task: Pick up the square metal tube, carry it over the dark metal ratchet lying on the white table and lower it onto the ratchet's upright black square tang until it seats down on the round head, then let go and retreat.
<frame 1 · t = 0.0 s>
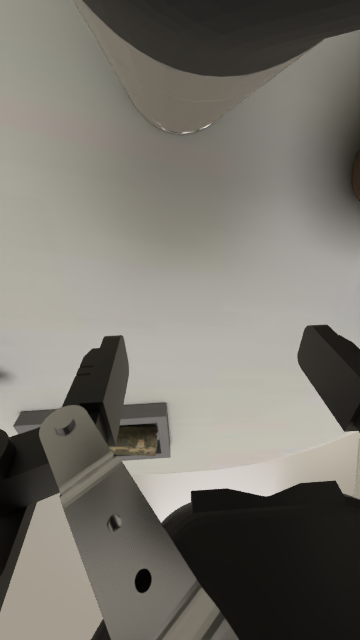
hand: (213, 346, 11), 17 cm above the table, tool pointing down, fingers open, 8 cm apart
gray rectangular tray: (102, 429, 42), on the table
rough wooden branch: (105, 427, 43), on the table
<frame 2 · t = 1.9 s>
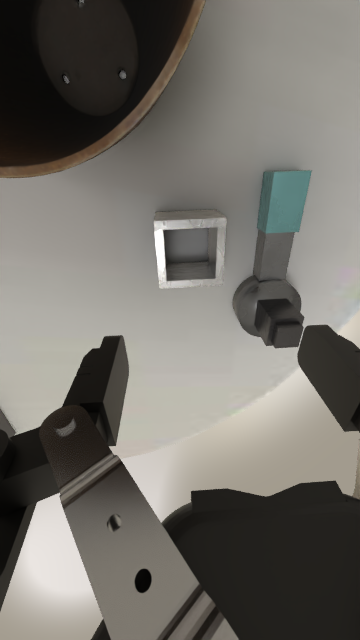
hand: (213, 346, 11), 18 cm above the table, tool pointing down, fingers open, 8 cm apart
ratchet: (267, 259, 27), on the table
plant pot: (89, 56, 18), on the table
square metal tube: (186, 241, 26), on the table
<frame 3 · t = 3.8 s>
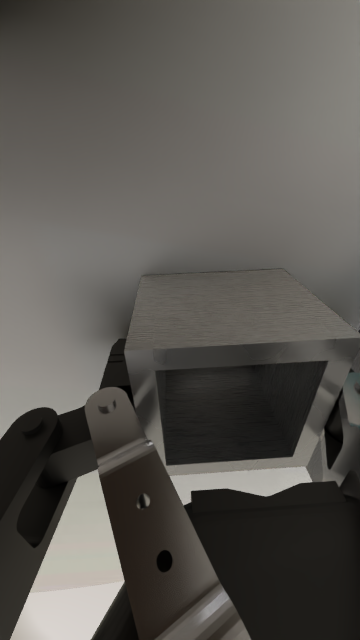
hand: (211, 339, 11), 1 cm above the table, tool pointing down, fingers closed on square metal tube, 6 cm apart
square metal tube: (210, 331, 12), on the table, touching gripper
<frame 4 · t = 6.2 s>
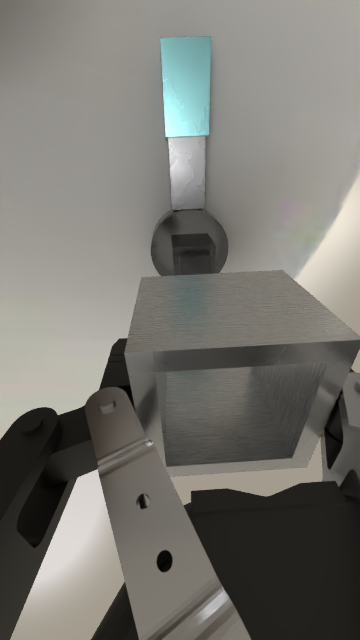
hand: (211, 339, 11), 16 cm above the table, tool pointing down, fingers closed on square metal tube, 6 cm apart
ratchet: (185, 187, 22), on the table
square metal tube: (210, 332, 12), point 15 cm above the table, touching gripper
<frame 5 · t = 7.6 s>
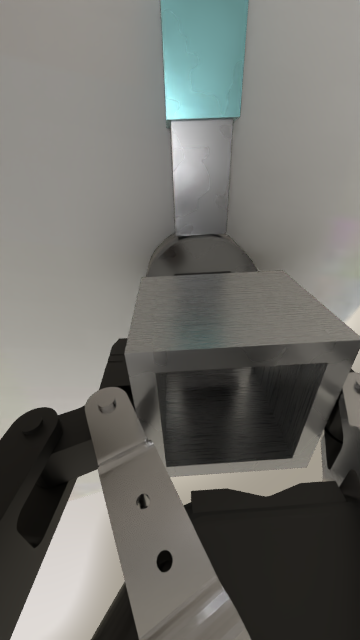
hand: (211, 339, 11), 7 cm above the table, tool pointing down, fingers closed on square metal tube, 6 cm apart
ratchet: (196, 200, 15), on the table
square metal tube: (210, 332, 12), point 6 cm above the table, touching gripper
when the fingers open (5 cm above the table, at t = 8.6 s): square metal tube drops 1 cm, resting on ratchet.
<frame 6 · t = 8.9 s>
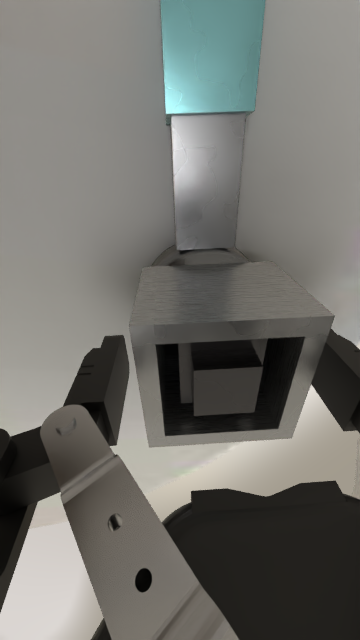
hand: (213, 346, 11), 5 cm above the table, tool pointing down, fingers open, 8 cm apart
ratchet: (200, 208, 13), on the table, touching square metal tube
square metal tube: (206, 319, 13), point 3 cm above the table, touching ratchet
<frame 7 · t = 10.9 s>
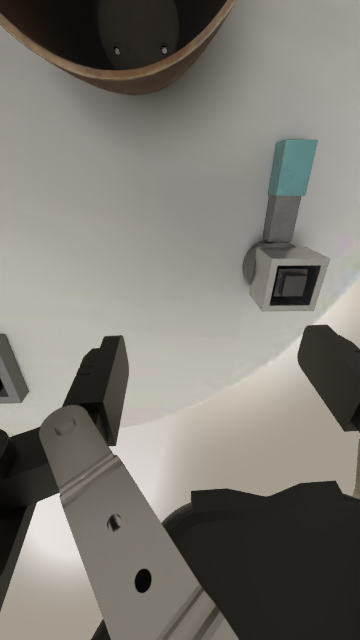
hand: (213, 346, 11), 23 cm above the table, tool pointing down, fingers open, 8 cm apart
ratchet: (275, 225, 31), on the table, touching square metal tube
plant pot: (137, 33, 22), on the table
square metal tube: (276, 271, 31), point 3 cm above the table, touching ratchet
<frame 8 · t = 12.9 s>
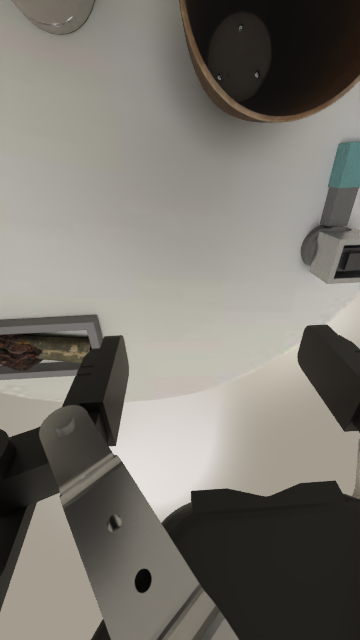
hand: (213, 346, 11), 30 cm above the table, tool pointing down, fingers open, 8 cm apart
ratchet: (331, 212, 37), on the table, touching square metal tube
plant pot: (236, 62, 28), on the table
square metal tube: (333, 251, 37), point 3 cm above the table, touching ratchet
gray rectangular tray: (43, 345, 47), on the table
rough wooden branch: (47, 342, 47), on the table
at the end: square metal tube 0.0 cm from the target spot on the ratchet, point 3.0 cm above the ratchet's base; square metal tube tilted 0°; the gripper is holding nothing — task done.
